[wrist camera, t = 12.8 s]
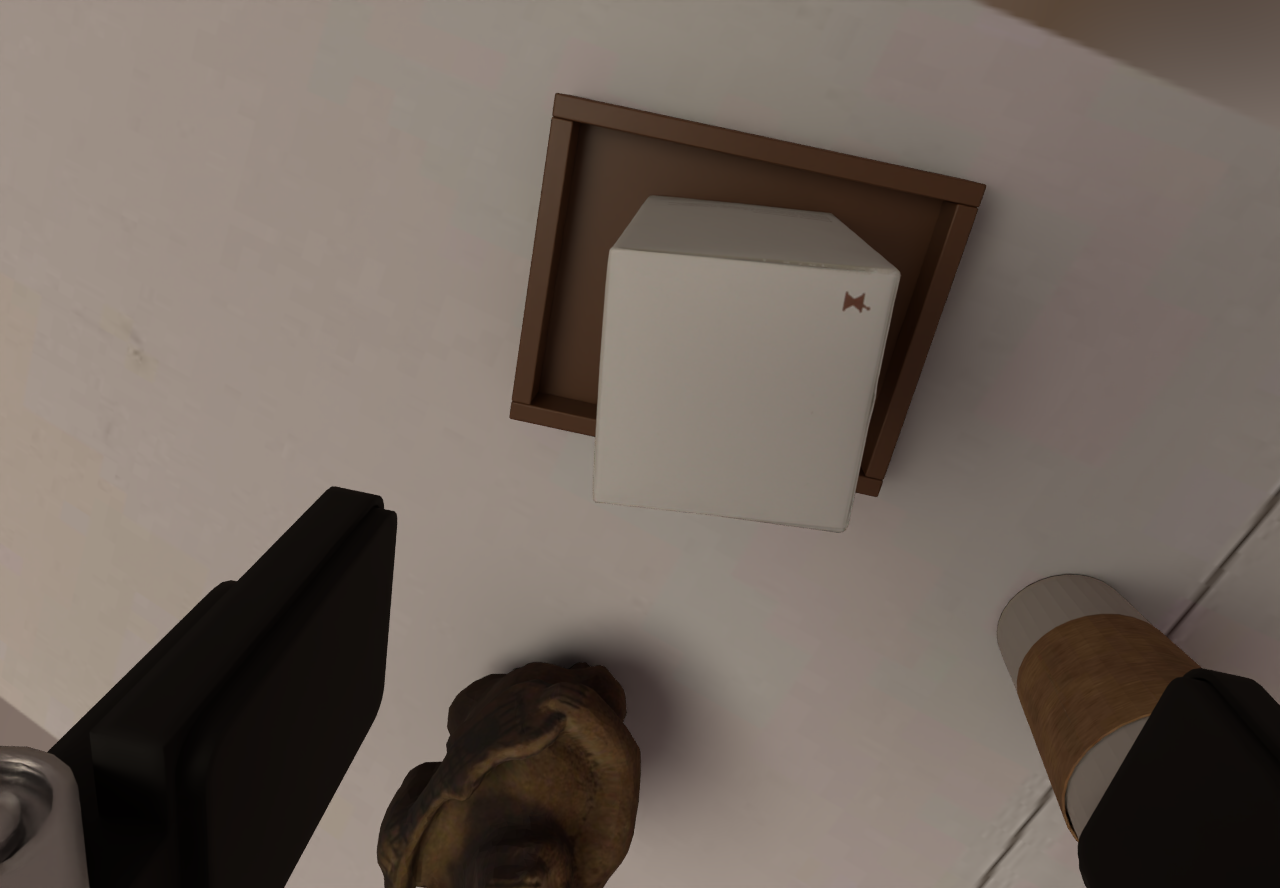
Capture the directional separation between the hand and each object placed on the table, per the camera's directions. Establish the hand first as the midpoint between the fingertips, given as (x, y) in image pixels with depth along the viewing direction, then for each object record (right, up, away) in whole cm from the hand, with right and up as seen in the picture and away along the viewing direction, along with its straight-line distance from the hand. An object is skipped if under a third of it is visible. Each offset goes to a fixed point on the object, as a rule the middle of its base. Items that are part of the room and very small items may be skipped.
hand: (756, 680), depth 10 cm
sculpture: (-6, -10, +32) cm, 34 cm away
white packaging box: (+2, +9, +23) cm, 25 cm away
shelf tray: (+2, +9, +24) cm, 25 cm away
